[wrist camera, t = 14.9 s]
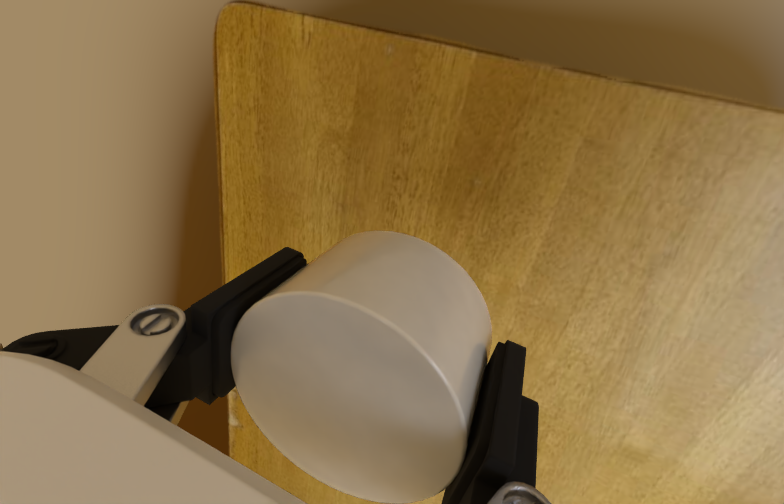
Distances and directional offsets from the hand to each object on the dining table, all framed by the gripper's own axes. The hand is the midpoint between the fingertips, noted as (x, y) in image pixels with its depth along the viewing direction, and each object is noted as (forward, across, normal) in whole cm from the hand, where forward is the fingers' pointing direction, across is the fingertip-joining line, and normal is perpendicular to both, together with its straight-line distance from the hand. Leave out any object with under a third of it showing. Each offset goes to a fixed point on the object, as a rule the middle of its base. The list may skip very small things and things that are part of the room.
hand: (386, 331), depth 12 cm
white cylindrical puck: (+1, 0, 0) cm, 1 cm away
